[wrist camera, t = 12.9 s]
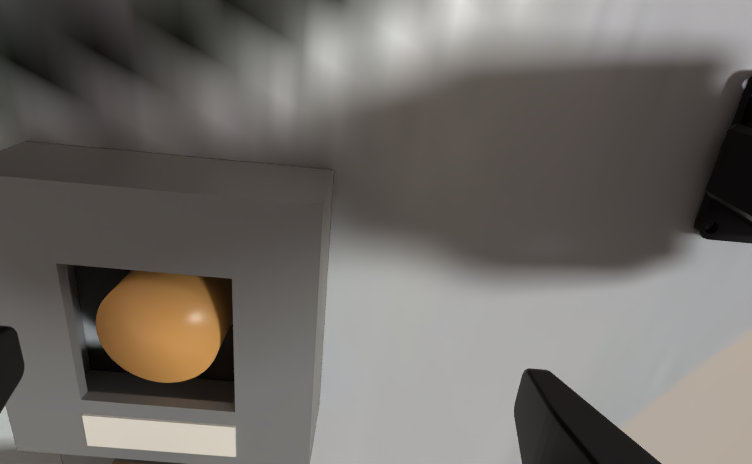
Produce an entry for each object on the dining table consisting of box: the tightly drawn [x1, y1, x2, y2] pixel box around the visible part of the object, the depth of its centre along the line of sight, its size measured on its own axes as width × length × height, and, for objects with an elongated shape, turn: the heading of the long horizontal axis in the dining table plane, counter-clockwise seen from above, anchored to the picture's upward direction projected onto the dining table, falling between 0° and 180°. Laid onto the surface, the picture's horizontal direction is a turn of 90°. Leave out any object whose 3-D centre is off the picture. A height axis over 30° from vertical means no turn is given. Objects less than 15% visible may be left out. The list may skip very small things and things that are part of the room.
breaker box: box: [0, 141, 334, 464], centre depth 20 cm, size 12×12×4 cm
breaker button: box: [96, 270, 233, 383], centre depth 20 cm, size 5×5×3 cm
